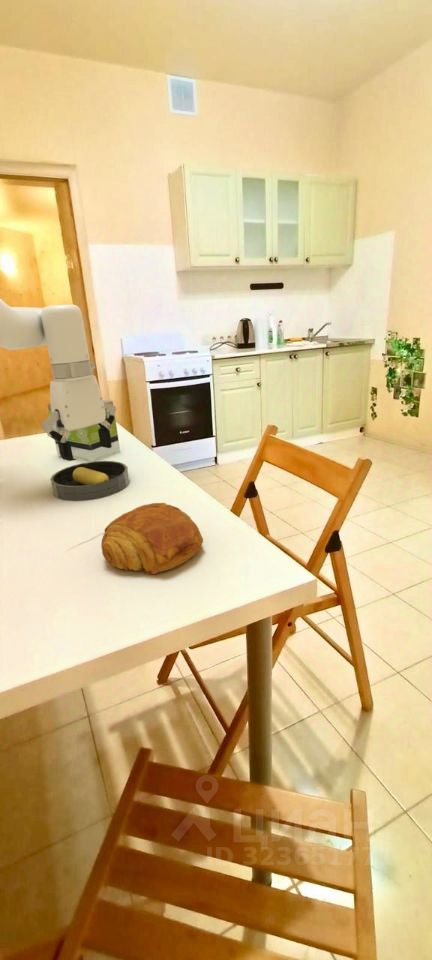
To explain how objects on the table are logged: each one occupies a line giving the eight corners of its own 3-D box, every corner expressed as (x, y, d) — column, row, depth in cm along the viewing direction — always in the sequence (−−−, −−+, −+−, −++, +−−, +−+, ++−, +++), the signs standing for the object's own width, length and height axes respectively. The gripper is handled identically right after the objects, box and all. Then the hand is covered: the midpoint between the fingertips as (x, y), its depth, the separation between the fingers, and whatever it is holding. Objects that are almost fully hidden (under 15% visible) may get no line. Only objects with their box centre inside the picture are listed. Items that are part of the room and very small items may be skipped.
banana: (71, 483, 100) (68, 468, 99) (84, 478, 102) (82, 463, 101) (100, 493, 93) (98, 477, 92) (114, 488, 95) (112, 472, 94)
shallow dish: (38, 492, 97) (35, 477, 96) (100, 470, 109) (98, 457, 107) (81, 509, 87) (78, 492, 86) (145, 483, 99) (143, 468, 97)
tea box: (56, 457, 122) (45, 403, 117) (85, 447, 130) (76, 396, 124) (93, 464, 114) (83, 406, 109) (122, 453, 121) (114, 399, 116)
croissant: (94, 565, 71) (78, 522, 68) (172, 520, 79) (161, 480, 76) (142, 602, 60) (126, 553, 57) (226, 546, 69) (216, 500, 65)
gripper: (97, 365, 97) (109, 440, 103) (22, 377, 85) (41, 462, 91) (118, 365, 93) (130, 444, 99) (42, 378, 81) (61, 468, 87)
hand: (87, 453), depth 95 cm, fingers open, 9 cm apart
